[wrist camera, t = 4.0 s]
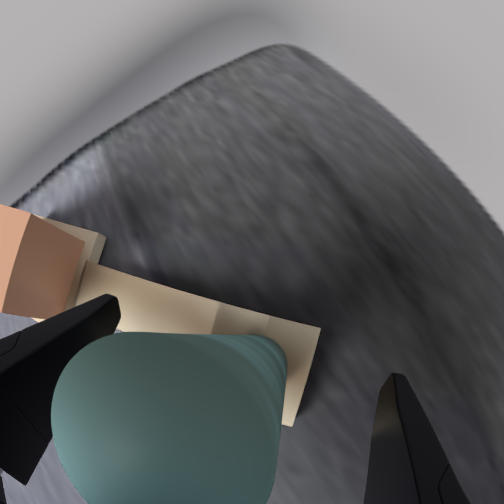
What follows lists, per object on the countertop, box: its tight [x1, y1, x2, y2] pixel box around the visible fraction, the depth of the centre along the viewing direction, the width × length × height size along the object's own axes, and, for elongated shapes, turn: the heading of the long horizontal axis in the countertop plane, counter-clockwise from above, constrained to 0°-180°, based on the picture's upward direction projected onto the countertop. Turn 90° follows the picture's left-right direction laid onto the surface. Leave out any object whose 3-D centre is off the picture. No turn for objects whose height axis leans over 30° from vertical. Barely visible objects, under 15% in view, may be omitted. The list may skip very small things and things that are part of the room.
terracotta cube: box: [0, 204, 85, 320], centre depth 15 cm, size 5×5×5 cm
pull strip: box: [33, 215, 321, 504], centre depth 11 cm, size 7×20×13 cm, turn 75°
